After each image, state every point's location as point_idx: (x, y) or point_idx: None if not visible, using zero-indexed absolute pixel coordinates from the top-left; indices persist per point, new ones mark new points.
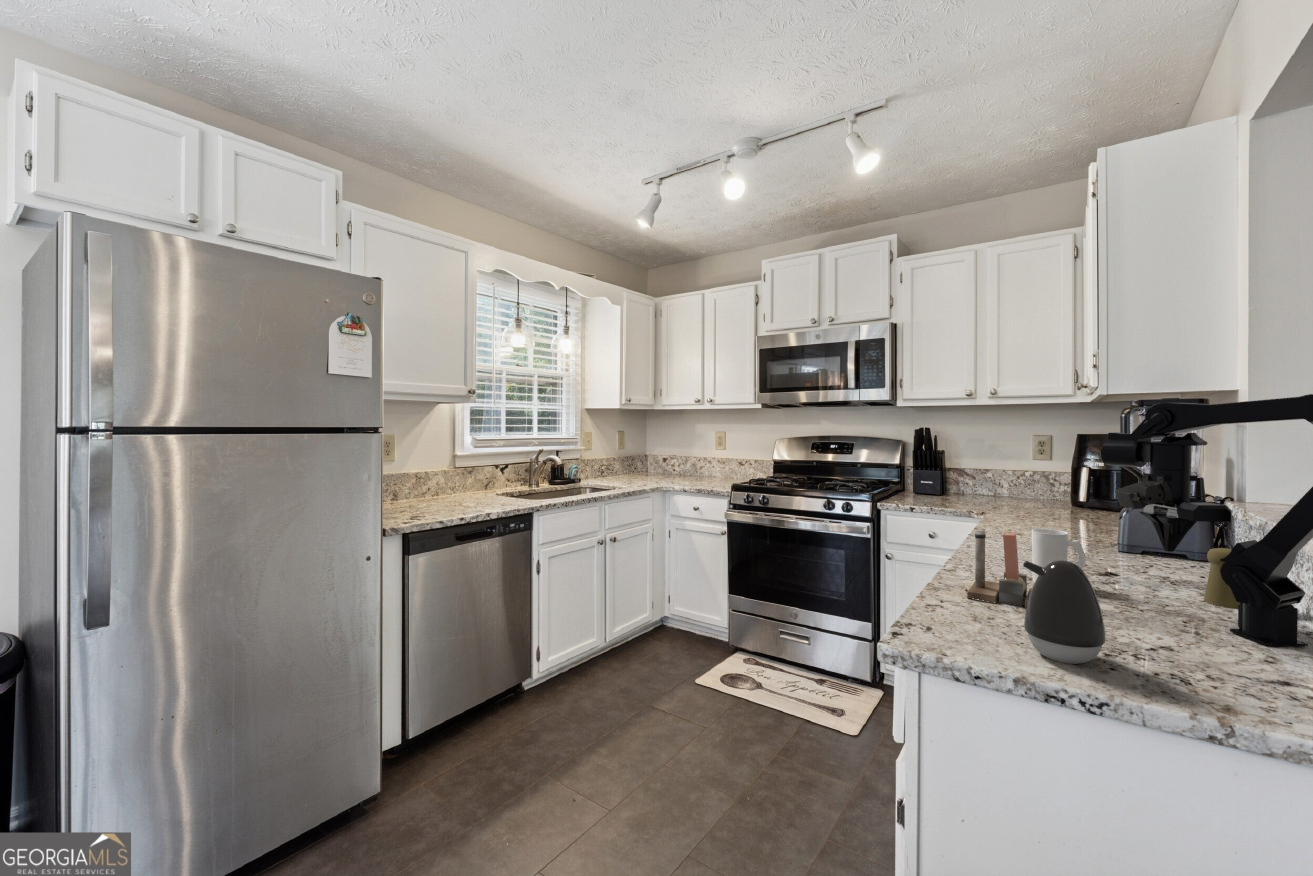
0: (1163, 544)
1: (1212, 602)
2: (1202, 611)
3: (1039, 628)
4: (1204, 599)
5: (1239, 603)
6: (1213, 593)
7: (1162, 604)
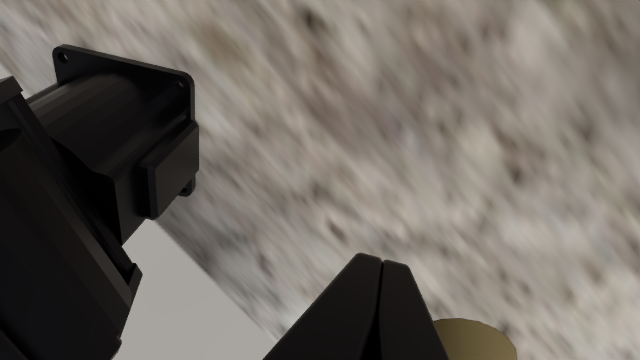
0: (399, 308)
1: (465, 326)
2: (412, 222)
3: None
4: (503, 340)
5: None
6: (466, 358)
7: (532, 170)
